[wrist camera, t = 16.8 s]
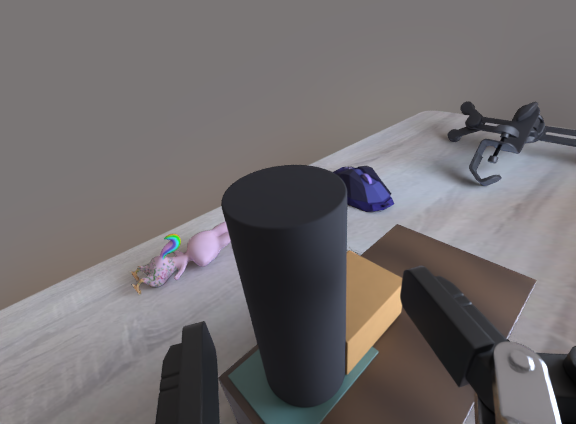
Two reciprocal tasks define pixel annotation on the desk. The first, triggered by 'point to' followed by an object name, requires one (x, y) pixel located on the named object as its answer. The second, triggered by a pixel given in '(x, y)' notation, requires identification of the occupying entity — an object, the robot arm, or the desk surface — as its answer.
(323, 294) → the cylinder with tan block
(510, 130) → the tablet mount
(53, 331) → the desk surface
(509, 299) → the low wooden bench
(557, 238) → the desk surface
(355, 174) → the computer mouse
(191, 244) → the rabbit figure
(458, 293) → the robot arm
